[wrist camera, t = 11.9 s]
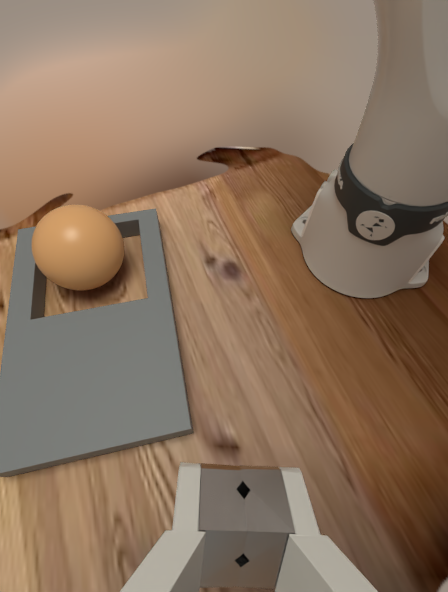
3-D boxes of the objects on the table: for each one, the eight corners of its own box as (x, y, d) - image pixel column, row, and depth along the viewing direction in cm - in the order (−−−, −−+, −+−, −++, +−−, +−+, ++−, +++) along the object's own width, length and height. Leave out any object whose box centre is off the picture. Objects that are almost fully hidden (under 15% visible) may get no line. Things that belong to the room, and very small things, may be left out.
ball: (55, 259, 31) (92, 320, 38) (129, 204, 36) (148, 267, 43) (-7, 224, 34) (38, 285, 42) (68, 177, 39) (96, 240, 47)
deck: (193, 433, 33) (191, 428, 31) (6, 477, 31) (-13, 476, 29) (159, 223, 47) (155, 208, 45) (29, 244, 45) (18, 229, 43)
